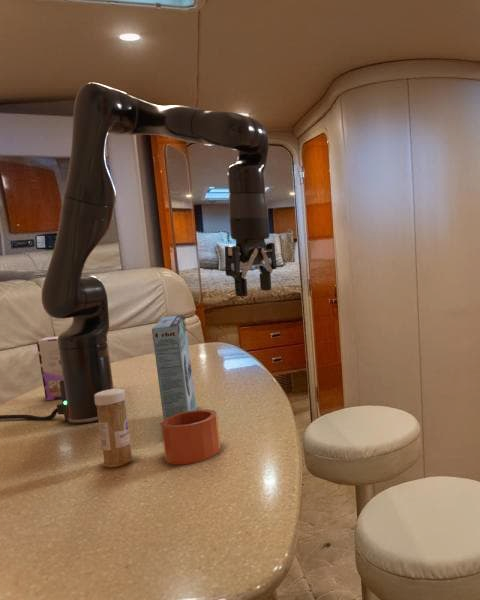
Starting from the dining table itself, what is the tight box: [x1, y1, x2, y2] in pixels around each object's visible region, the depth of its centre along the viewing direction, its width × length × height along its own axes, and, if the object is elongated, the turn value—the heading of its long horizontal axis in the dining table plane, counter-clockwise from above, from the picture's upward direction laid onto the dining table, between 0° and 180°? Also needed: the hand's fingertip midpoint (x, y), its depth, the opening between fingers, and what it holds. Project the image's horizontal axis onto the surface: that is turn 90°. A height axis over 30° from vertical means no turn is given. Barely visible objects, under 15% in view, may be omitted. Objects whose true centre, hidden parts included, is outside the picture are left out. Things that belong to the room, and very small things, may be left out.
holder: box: [160, 408, 221, 465], centre depth 95 cm, size 9×9×7 cm
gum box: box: [151, 314, 197, 420], centre depth 111 cm, size 20×5×23 cm, turn 23°
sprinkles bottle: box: [94, 388, 134, 468], centre depth 92 cm, size 5×5×14 cm
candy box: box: [35, 335, 63, 401], centre depth 138 cm, size 14×6×16 cm, turn 108°
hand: (254, 293), depth 108 cm, fingers open, 8 cm apart
